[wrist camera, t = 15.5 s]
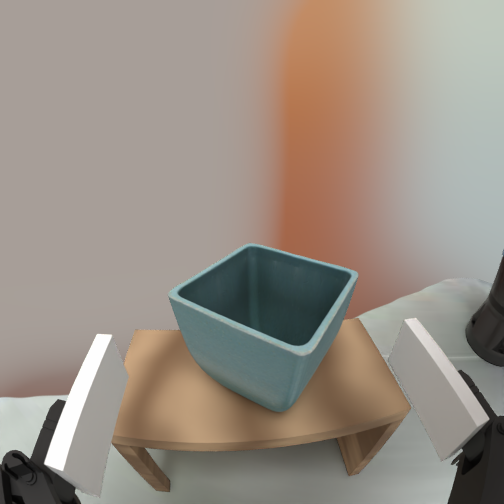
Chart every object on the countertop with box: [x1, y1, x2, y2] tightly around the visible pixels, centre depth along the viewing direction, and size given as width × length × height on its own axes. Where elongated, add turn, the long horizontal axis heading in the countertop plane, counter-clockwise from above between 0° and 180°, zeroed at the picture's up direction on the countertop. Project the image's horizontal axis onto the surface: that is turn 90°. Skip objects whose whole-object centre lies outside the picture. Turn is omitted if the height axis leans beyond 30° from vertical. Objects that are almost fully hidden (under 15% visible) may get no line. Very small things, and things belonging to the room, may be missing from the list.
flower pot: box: [168, 243, 358, 412], centre depth 18 cm, size 9×9×9 cm
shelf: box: [111, 318, 411, 492], centre depth 24 cm, size 22×12×14 cm, turn 95°
